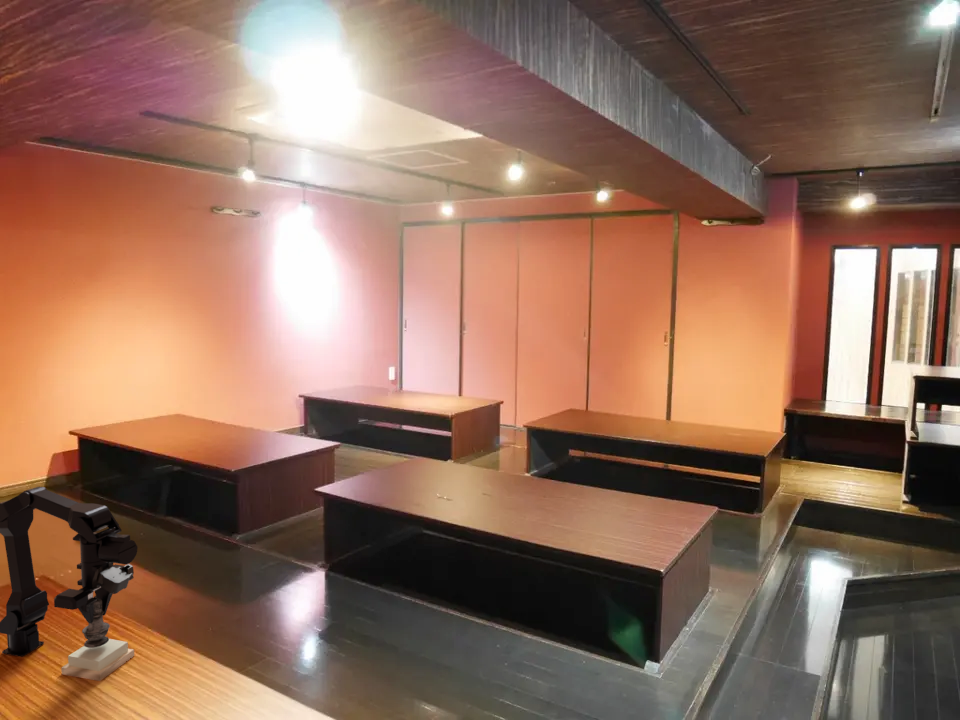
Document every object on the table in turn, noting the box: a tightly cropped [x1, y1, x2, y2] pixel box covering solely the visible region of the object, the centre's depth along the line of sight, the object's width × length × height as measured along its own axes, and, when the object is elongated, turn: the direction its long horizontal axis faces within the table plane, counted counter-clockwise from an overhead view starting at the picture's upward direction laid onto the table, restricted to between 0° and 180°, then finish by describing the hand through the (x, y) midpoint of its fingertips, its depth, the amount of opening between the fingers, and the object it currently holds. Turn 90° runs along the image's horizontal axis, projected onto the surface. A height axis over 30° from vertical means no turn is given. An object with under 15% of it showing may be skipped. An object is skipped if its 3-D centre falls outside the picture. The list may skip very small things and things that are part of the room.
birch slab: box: [61, 648, 135, 682], centre depth 159 cm, size 11×11×2 cm
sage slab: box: [67, 638, 129, 671], centre depth 158 cm, size 9×9×2 cm
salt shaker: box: [81, 595, 111, 648], centre depth 157 cm, size 6×6×12 cm
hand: (96, 618), depth 157 cm, fingers closed on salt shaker, 4 cm apart
